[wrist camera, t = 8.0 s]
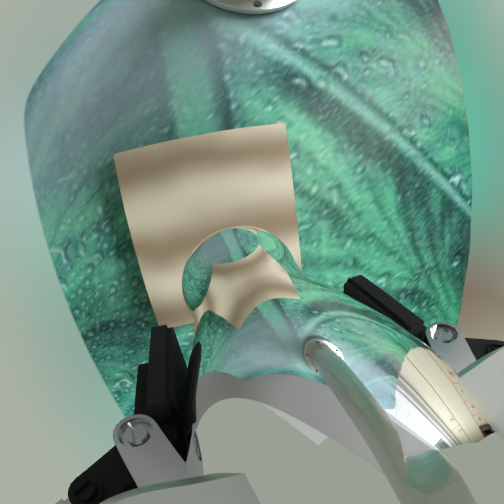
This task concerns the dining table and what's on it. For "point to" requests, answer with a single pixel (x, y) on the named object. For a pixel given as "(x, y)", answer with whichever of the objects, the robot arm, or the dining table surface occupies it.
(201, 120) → the dining table surface
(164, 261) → the plate
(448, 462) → the beer glass
